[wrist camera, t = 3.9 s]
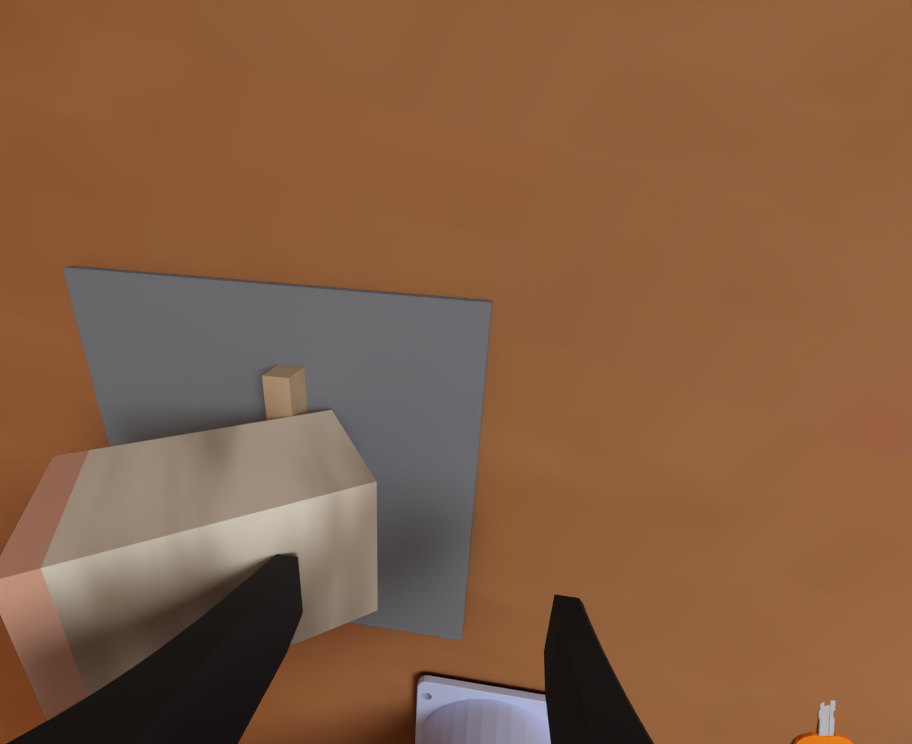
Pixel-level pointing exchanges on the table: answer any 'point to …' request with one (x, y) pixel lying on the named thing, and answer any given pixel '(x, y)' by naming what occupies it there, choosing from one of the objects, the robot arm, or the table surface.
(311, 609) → the birch block
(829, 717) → the key chain
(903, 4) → the table surface
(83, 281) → the rubber mat
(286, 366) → the stop strip
